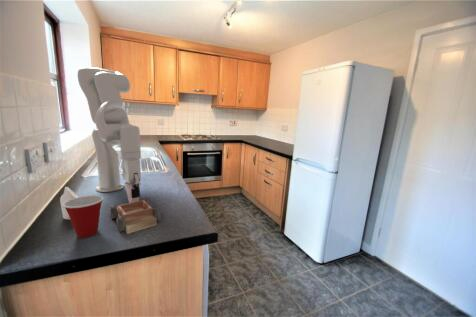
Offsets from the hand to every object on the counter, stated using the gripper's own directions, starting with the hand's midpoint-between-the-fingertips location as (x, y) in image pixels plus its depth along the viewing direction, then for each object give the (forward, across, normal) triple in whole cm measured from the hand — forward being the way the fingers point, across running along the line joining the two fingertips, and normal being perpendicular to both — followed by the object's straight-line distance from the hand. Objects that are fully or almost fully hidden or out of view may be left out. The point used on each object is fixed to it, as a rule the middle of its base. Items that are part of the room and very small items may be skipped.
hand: (133, 194), depth 96 cm
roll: (+4, -1, -22) cm, 22 cm away
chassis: (+4, +15, -4) cm, 16 cm away
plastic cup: (+4, +16, -19) cm, 25 cm away
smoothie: (+4, 0, 0) cm, 4 cm away
